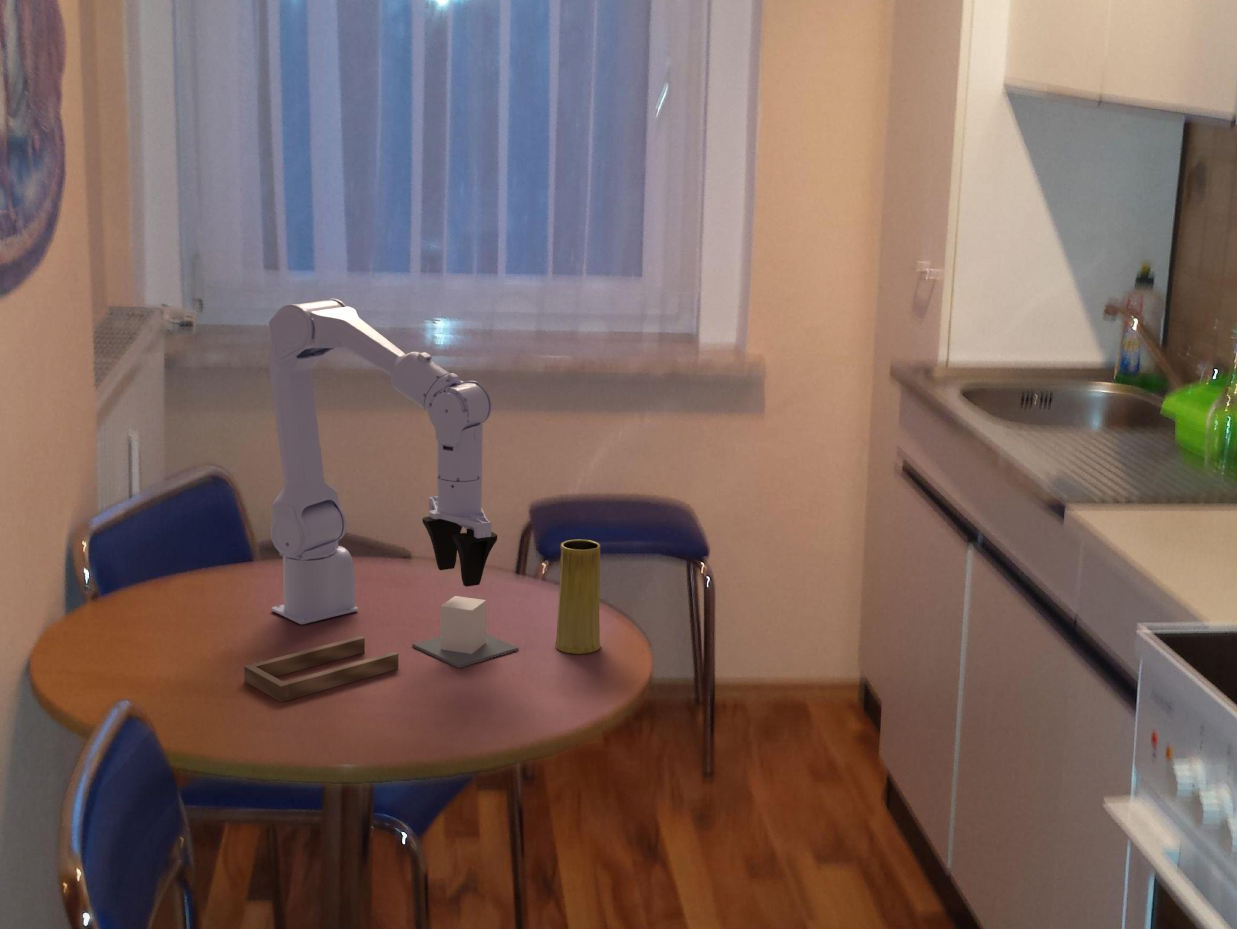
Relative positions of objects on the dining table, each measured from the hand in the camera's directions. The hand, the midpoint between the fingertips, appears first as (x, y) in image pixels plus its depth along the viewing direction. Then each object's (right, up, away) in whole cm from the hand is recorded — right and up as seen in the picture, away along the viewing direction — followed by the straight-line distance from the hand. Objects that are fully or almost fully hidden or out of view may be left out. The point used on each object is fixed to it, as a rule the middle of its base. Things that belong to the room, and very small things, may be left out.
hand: (458, 576), depth 187 cm
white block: (0, -9, +2) cm, 9 cm away
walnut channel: (-16, -12, -9) cm, 22 cm away
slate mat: (+1, -10, +2) cm, 10 cm away
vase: (+16, -10, +4) cm, 19 cm away
